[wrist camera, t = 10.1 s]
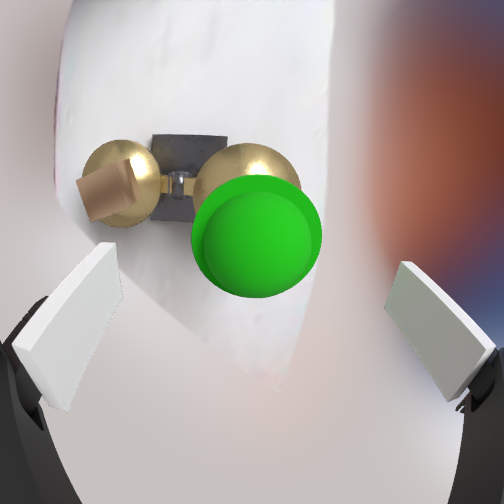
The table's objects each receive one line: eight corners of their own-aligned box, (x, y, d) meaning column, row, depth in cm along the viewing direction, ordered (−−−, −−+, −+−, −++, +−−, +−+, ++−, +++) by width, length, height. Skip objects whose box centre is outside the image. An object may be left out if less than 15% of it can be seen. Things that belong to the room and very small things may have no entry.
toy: (290, 162, 26) (353, 194, 12) (281, 236, 29) (322, 328, 15) (210, 157, 25) (181, 181, 11) (207, 232, 28) (185, 326, 14)
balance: (104, 136, 32) (63, 140, 22) (288, 142, 35) (309, 145, 25) (105, 214, 37) (70, 241, 27) (277, 224, 40) (292, 256, 30)
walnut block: (95, 173, 28) (75, 180, 24) (129, 158, 28) (112, 163, 23) (108, 209, 30) (90, 222, 26) (142, 197, 30) (127, 208, 25)
